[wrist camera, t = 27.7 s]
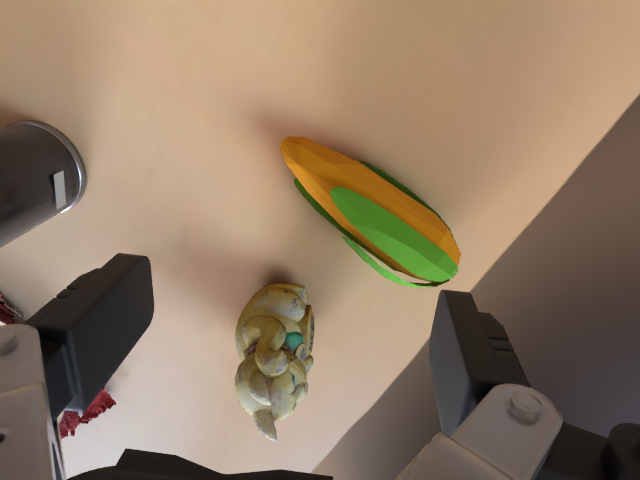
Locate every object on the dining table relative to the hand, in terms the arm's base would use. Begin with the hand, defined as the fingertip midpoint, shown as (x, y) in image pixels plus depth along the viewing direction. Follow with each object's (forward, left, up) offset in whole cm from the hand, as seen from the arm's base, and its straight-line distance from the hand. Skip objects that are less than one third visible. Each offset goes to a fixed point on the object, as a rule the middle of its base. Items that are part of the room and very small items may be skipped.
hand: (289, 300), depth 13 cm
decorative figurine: (-5, -22, -32) cm, 39 cm away
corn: (+3, -8, -32) cm, 33 cm away
